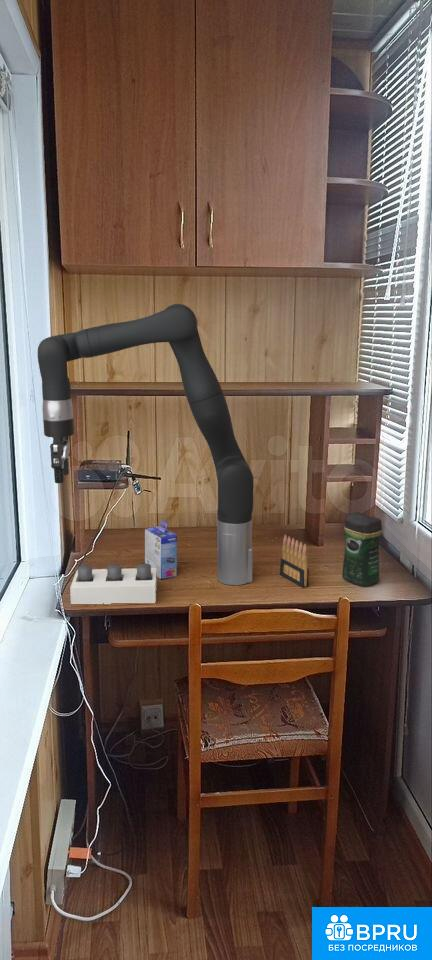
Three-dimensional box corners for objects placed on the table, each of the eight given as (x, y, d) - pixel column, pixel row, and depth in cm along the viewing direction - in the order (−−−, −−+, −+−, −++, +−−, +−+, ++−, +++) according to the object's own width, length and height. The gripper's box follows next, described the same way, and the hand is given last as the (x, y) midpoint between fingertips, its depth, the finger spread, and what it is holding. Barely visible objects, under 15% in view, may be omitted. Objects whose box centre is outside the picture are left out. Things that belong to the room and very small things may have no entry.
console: (157, 585, 188) (156, 567, 187) (155, 604, 177) (155, 585, 176) (77, 587, 187) (76, 569, 186) (71, 606, 176) (70, 588, 175)
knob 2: (151, 577, 183) (151, 563, 182) (151, 583, 180) (150, 568, 179) (137, 578, 183) (137, 563, 182) (136, 583, 180) (136, 568, 179)
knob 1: (93, 579, 183) (92, 564, 182) (91, 584, 179) (91, 569, 178) (79, 579, 182) (78, 564, 181) (77, 584, 179) (76, 570, 178)
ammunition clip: (308, 586, 187) (310, 544, 184) (303, 588, 186) (304, 545, 183) (285, 573, 196) (286, 532, 193) (279, 574, 195) (280, 533, 192)
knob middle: (122, 578, 183) (121, 563, 182) (121, 583, 179) (120, 569, 178) (108, 578, 183) (107, 564, 182) (107, 584, 179) (106, 569, 178)
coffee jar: (384, 582, 190) (388, 516, 185) (364, 589, 185) (367, 522, 180) (357, 571, 197) (360, 508, 193) (337, 578, 193) (339, 513, 188)
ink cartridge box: (178, 576, 195) (177, 526, 191) (161, 580, 192) (159, 530, 188) (161, 565, 203) (160, 517, 199) (144, 569, 200) (143, 520, 196)
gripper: (69, 421, 172) (72, 485, 176) (77, 412, 185) (80, 471, 190) (37, 422, 171) (42, 486, 175) (48, 412, 185) (52, 472, 189)
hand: (62, 478), depth 183 cm, fingers open, 8 cm apart
